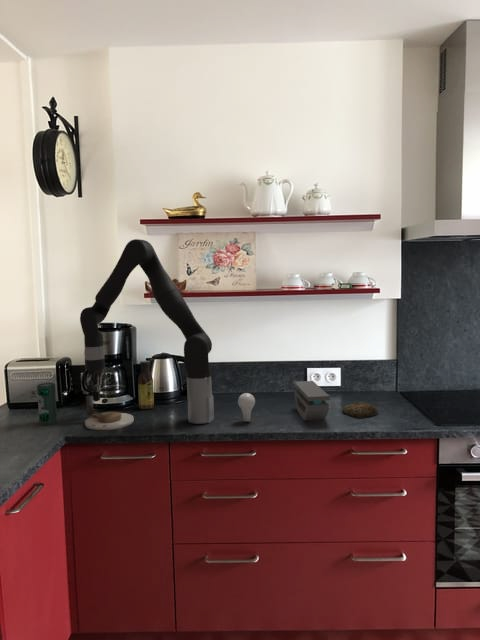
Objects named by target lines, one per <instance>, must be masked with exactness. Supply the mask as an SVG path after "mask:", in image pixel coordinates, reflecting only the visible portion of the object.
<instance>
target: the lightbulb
mask: <svg viewBox="0 0 480 640" xmlns="http://www.w3.org/2000/svg"><path fill="white" fill-rule="evenodd" d="M237 404H238V406H239V408H240V409H241V412H242V415H243V421H244V422H245V423H249V422H250V421H251V419H252V418H251V414H252V410H253V408H254V407H255V404H256V398H255V397H254V395H253V394H251V393H248V392H244V393H241V395H239V397H238V400H237Z"/></svg>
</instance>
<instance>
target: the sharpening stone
mask: <svg viewBox="0 0 480 640" xmlns="http://www.w3.org/2000/svg"><path fill="white" fill-rule="evenodd" d="M293 386H294V387H295V388H296V389H294V401H295V406H296V411H297V414H299V416H300V418H302V420H303V421H304V422H306V421H307V422H308V421H324V420H326V418H327V415H328V413H329V410H330V404H329V403H328V402H327V401H330V400H331V398H330V395H329V394H328V393H327V392H325V390H323V388H321V386H319V385H317V383H315V381H313V380H301V381H299V380H298V381H293Z"/></svg>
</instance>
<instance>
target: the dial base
mask: <svg viewBox="0 0 480 640" xmlns="http://www.w3.org/2000/svg"><path fill="white" fill-rule="evenodd" d="M120 413H121V417H122V418H121V419H120V420H118V421H114V422H99V421H97V418H89V417H88V418H86V419H85V421H84V426H85V428H87V429H89V430H93V431H110V430H111V431H112V430H117V429H121V428H126V427H128V426H130V425H132V424H133V423H134V420H135V419H134V416H133V415H132V414H130V413H124V412H120Z"/></svg>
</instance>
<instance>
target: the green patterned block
mask: <svg viewBox="0 0 480 640" xmlns="http://www.w3.org/2000/svg"><path fill="white" fill-rule="evenodd" d="M36 390H37V391H36V394H37V403H38V405H37V406H38V407H37V409H38V420H39V422H38V423H39V425H40V426H50V425H54V424H56V423H58V413H57V400H56V399H57V397H56V384H55V383H54V382H44V383H39V384H37V385H36Z"/></svg>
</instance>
